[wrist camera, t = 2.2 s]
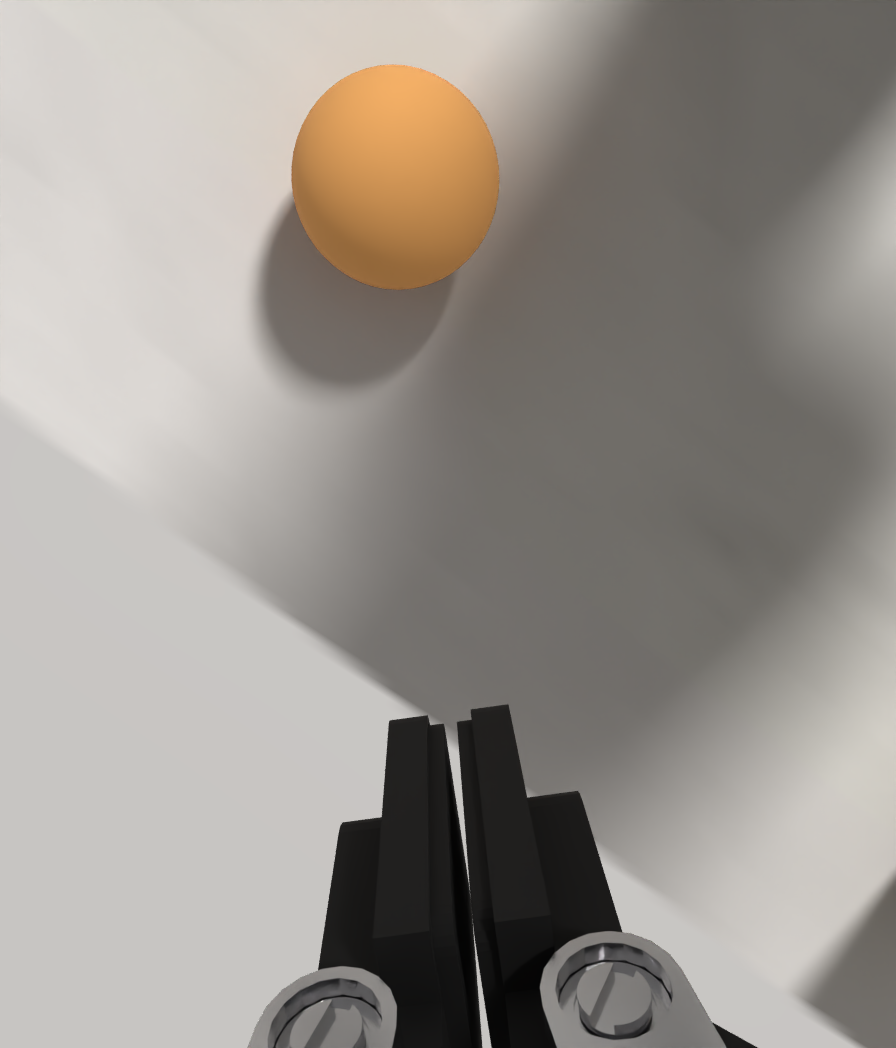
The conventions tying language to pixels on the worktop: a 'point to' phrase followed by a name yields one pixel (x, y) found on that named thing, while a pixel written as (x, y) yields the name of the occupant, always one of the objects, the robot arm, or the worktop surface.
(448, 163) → the ball
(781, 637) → the worktop surface
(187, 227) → the worktop surface
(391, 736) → the robot arm
